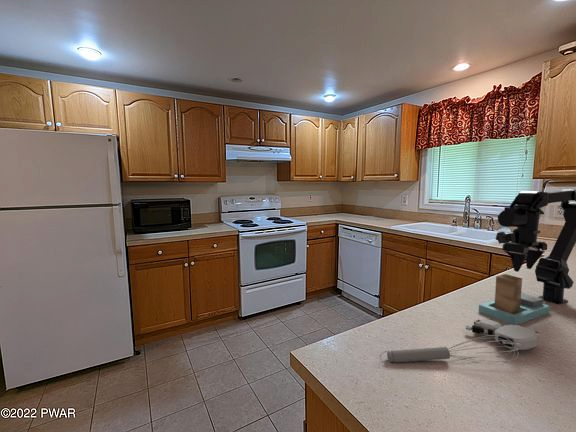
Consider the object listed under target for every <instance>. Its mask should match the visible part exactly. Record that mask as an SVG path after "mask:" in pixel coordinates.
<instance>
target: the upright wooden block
mask: <svg viewBox="0 0 576 432" xmlns="http://www.w3.org/2000/svg"><path fill="white" fill-rule="evenodd" d="M522 287H523V277H518V276H513V275H510V274H506V273H504V274H500V275H497V276H495V291H494V293H495V294H494V300H495V306H494V308H496V309H499V310H502V311H505V312H508V313H511V314H513V315H514V314H517V313H520V303H521V293H522Z"/></svg>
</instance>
